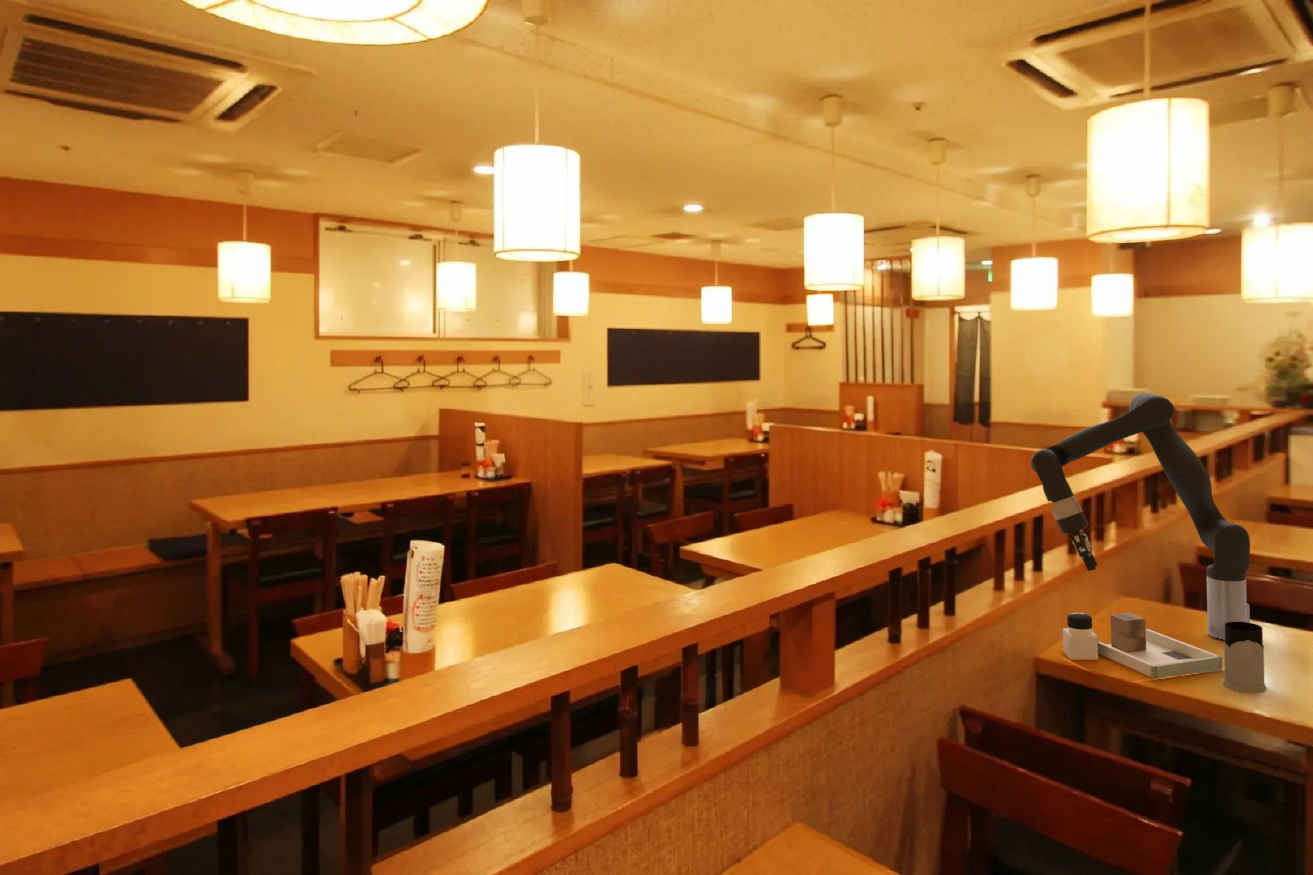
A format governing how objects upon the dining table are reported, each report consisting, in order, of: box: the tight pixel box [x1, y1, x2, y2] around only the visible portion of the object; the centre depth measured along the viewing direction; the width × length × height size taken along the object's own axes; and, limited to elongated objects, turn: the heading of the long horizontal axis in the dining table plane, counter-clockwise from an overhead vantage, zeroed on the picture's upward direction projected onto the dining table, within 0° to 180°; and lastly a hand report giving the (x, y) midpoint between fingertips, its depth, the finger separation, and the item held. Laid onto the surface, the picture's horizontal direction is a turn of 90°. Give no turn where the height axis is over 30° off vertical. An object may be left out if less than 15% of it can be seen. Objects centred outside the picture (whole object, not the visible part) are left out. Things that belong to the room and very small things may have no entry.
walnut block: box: [1109, 612, 1147, 653], centre depth 227 cm, size 6×6×9 cm
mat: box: [1163, 651, 1191, 660], centre depth 220 cm, size 4×6×1 cm, turn 10°
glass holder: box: [1222, 621, 1267, 694], centre depth 201 cm, size 9×14×15 cm, turn 157°
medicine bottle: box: [1062, 612, 1099, 662], centre depth 225 cm, size 7×7×12 cm
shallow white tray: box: [1098, 628, 1223, 681], centre depth 220 cm, size 20×25×4 cm
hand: (1093, 568), depth 231 cm, fingers open, 8 cm apart
